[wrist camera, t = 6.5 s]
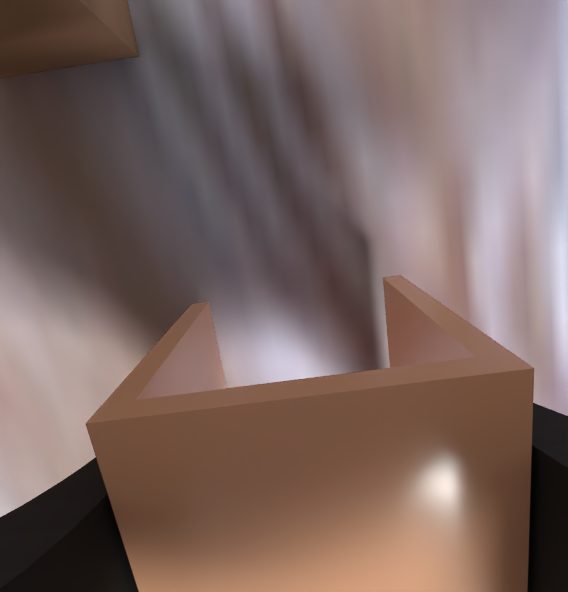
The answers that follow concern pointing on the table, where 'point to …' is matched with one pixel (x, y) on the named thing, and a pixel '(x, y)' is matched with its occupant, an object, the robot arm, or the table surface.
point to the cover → (325, 465)
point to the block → (63, 34)
